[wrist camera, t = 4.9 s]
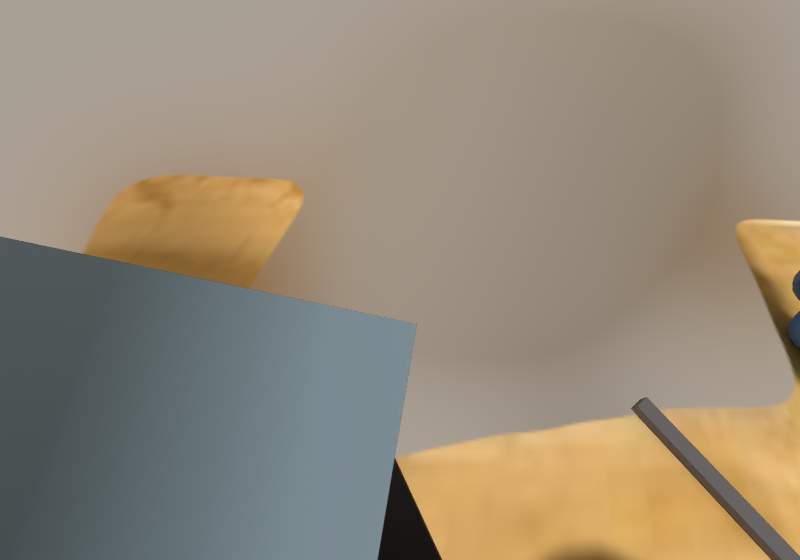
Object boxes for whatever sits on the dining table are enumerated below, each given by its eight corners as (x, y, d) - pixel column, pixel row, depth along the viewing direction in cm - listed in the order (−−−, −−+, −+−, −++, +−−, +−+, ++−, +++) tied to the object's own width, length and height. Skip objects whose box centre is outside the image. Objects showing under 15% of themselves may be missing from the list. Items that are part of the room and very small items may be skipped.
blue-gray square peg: (342, 596, 12) (248, 1421, 1) (229, 572, 12) (-964, 1162, 1) (367, 470, 14) (423, 318, 3) (271, 449, 14) (-17, 227, 3)
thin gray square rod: (862, 657, 18) (877, 661, 18) (631, 408, 23) (637, 406, 23) (870, 640, 19) (884, 644, 18) (640, 399, 24) (646, 397, 23)
